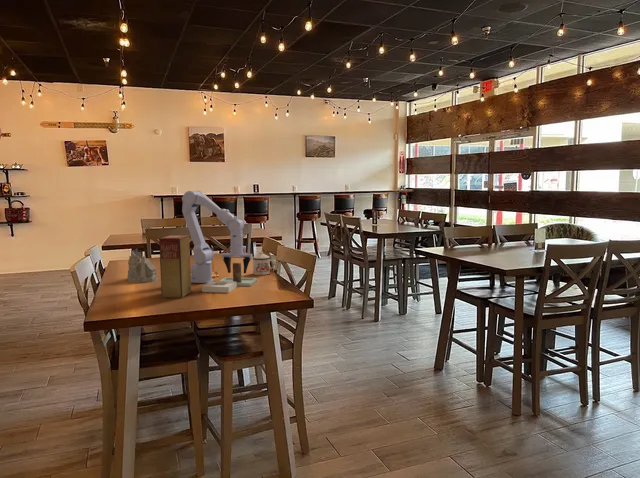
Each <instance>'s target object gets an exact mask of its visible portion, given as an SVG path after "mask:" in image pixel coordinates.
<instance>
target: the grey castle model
mask: <svg viewBox="0 0 640 478" xmlns="http://www.w3.org/2000/svg"><path fill="white" fill-rule="evenodd" d="M127 264H128V270H127V277H126V281H127V282H129V283H142V284H143V283H144V284H145V283H146V284H148V283H154V282H157V281H158V280H159V278H158V276H157V272H156V271H157V268H156V266H154V265H153V263H152V262H151V260H150V259H149V258H147V259H146V256H144V255H142V256H141V257H140V256H139V255H137V254H135V252H134V251H131V253H130V255H129V258H128V262H127Z"/></svg>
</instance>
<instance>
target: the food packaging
mask: <svg viewBox="0 0 640 478" xmlns="http://www.w3.org/2000/svg"><path fill="white" fill-rule="evenodd" d="M158 241H159V262H160V263H159V265H160V268H159V269H160V284H161V285H160V288H161V291H160V292H161V299H183V298H184V297H186V296H187V295H189V294H190V293H192V283H191V254H190V253H191V250H190V249H191V247H190V234H189V235H188V234H187V235H185V234H182V235H181V234H172V235H167V236H163V237H161V238H159V239H158Z"/></svg>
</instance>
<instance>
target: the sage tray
mask: <svg viewBox="0 0 640 478" xmlns="http://www.w3.org/2000/svg"><path fill="white" fill-rule="evenodd" d="M219 281H233V277H226V276H225V277H224V278H222V279H220V280H219ZM241 281H242V282H237V287H252V286H253V285H254V284H255V283H257V281H258V278H257V277H241Z"/></svg>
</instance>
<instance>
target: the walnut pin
mask: <svg viewBox="0 0 640 478" xmlns="http://www.w3.org/2000/svg"><path fill="white" fill-rule="evenodd" d="M232 278H233V281H235V282H242V281H241V278H242V262H232Z"/></svg>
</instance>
